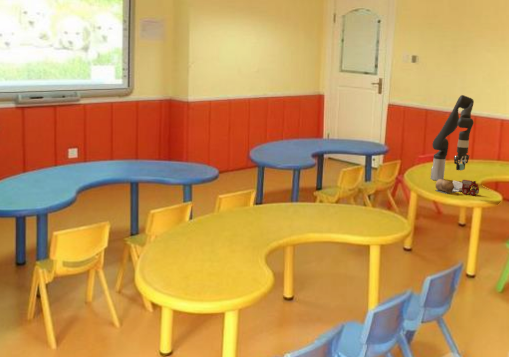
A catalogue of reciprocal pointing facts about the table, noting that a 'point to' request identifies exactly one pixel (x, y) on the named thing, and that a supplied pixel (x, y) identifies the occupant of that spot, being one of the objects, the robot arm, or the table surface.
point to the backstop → (457, 185)
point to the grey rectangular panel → (450, 192)
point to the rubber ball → (461, 167)
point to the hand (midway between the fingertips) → (460, 169)
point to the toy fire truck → (469, 187)
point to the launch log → (444, 185)
